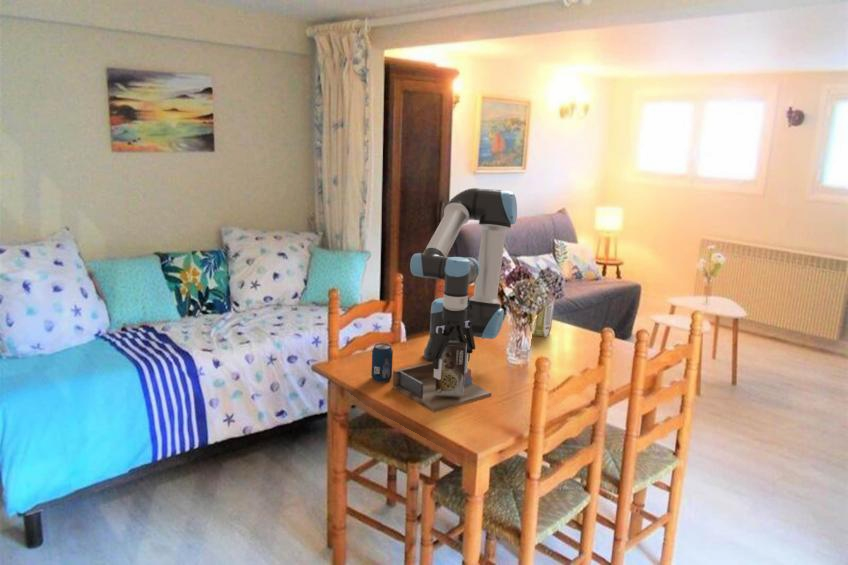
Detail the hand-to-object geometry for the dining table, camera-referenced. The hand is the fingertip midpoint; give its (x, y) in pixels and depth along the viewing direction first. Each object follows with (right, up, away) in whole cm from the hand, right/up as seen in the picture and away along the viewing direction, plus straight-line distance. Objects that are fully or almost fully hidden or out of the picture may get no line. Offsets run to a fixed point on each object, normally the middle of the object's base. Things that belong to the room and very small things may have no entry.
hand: (450, 374), depth 201 cm
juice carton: (+42, +7, +74) cm, 85 cm away
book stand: (-3, -7, +8) cm, 11 cm away
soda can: (-23, -4, +15) cm, 28 cm away
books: (+2, -4, +16) cm, 16 cm away
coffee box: (0, -6, +1) cm, 6 cm away
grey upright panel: (-13, -6, +4) cm, 15 cm away
